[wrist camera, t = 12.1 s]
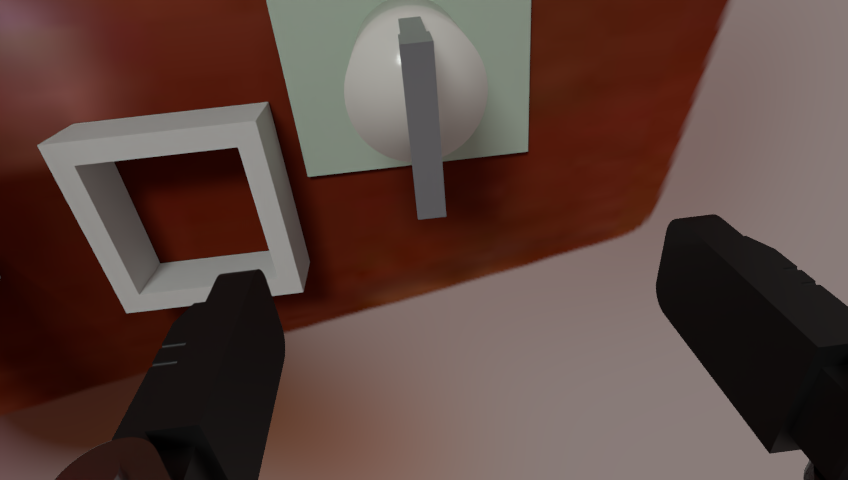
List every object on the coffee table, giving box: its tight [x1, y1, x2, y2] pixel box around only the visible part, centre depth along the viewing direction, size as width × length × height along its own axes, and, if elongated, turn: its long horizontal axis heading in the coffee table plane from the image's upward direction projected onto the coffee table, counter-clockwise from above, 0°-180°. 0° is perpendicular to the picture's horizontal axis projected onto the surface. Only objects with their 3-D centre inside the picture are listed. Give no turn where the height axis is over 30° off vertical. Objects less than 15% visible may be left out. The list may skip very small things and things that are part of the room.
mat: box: [266, 0, 531, 177], centre depth 31 cm, size 16×16×1 cm
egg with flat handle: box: [344, 0, 488, 220], centre depth 25 cm, size 7×7×15 cm
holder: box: [37, 102, 310, 313], centre depth 34 cm, size 13×13×4 cm
